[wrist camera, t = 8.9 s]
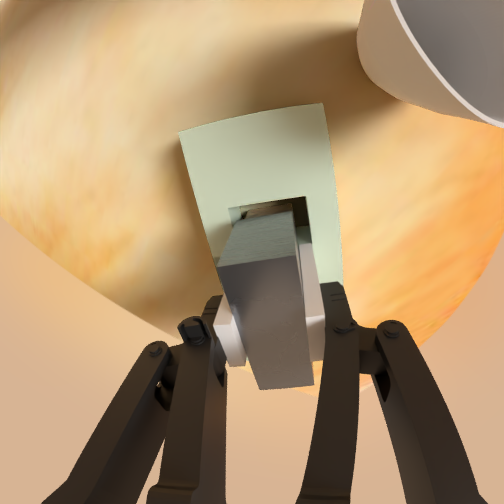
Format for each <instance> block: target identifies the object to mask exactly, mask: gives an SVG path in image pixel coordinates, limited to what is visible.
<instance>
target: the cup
mask: <svg viewBox="0 0 504 504" xmlns="http://www.w3.org/2000/svg"><path fill="white" fill-rule="evenodd" d="M357 48H358V54H359V59H360V63H361V65H362V68H363V70H364V71H365V73H366V74H367V76H368V77H369V78H370V79H371V81H372V82H373V83H375V84H376V85H377V86H378V87H380V88H381V89H383V90H384V91H386V92H387V93H389V94H390V95H392V96H393V97H395V98H397V99H399V100H401V101H404V102H407V103H410V104H413V105H416V106H420V107H423V108H426V109H429V110H431V111H434V112H437V113H441V114H445V115H450V116H456V117H461V118H465V119H470V120H474V121H478V122H482V123H486V124H490V125H494V126H497V127H501V128H504V0H365V1H364V4H363V9H362V13H361V17H360V22H359V26H358V30H357Z"/></svg>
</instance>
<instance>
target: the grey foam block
mask: <svg viewBox="0 0 504 504" xmlns="http://www.w3.org/2000/svg"><path fill="white" fill-rule="evenodd" d="M216 268H217V271H218V274H219V277H220V280H221V283H222V286H223V289H224V292H225V295H226V298H227V301H228V304H229V307H230V309H231V312H232V315H233V316H234V320H235V323H236V326H237V329H238V332H239V335H240V338H241V341H242V344H243V346H244V349H245V352H246V355H247V357H248V360H249V363H250V365H251V368H252V371H253V373H254V376H255V379H256V381H257V384H258V386H259V389H260V390H268V389H282V388H293V387H303V386H312V385H314V373H313V361H312V362H310V354H309V344H308V334H307V325H306V316H305V304H304V292H303V281H302V270H301V263H300V256H299V250H298V242H297V234H296V226H295V219H294V214H293V208H292V203H288V204H282V205H276V206H271V207H265V208H260V209H254V210H249V211H248V212H247V215H246V218H245V219H243V220H238V221H236V223H235V225H234V227H233V230H232V232H231V234H230V237H229V239H228V241H227V243H226V246H225V248H224V250H223V253H222V255H221V257H220V260H219V262H218V264H217V267H216Z"/></svg>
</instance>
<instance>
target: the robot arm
mask: <svg viewBox="0 0 504 504" xmlns="http://www.w3.org/2000/svg"><path fill="white" fill-rule="evenodd" d="M299 251H300V260H301V270H302V281H303V292H304V304H305V316H306V325H307V334H308V344H309V354H310V362H312V361H320V360H323V367H322V376H321V384H320V391H319V398H318V405H317V412H316V418H315V424H314V429H313V435H312V441H311V446H310V451H309V456H308V461H307V465H306V470H305V475H304V479H303V483H302V488H301V491H300V494H299V496H298V498H297V500H296V503H295V504H350V493H351V486H352V479H353V471H354V463H355V453H356V442H357V429H358V412H359V373H361V374H371V377H372V380H373V383H374V386H375V388H376V392H377V395H378V398H379V401H380V404H381V407H382V410H383V414H384V417H385V420H386V424H387V427H388V431H389V434H390V438H391V441H392V445H393V449H394V452H395V456H396V460H397V464H398V468H399V472H400V476H401V480H402V485H403V489H404V494H405V499H406V503H407V504H488V503H487V502H486V501H485V500H484V499H483V498H482V497H481V495H479V492H478V489H477V485H476V482H475V478H474V475H473V472H472V470H471V466H470V463H469V460H468V457H467V455H466V452H465V449H464V446H463V443H462V441H461V438H460V436H459V433H458V431H457V428H456V426H455V424H454V421H453V419H452V416H451V414H450V412H449V409H448V407H447V405H446V403H445V401H444V399H443V396H442V394H441V392H440V390H439V388H438V386H437V384H436V382H435V380H434V378H433V376H432V374H431V372H430V370H429V368H428V366H427V364H426V362H425V360H424V358H423V356H422V355H421V353H420V351H419V349H418V347H417V345H416V344H415V342H414V340H413V338H412V336H411V335H410V333H409V331H408V329H407V328H406V326H405V325H404V324H403V323H401V322H399V321H395V320H387V321H384V322H382V323H380V324H379V325H378V326H377V329H375V328H365V327H362V326H359V325H358V324H357V322H356V321H355V320H354V319H353V318H352V315H351V311H350V308H349V304H348V301H347V297H346V294H345V291H344V287H343V286H342V285H341V284H340V283H339V282H338V281H335V282H328V283H321V284H319V279H318V273H317V268H316V263H315V258H314V253H313V248H312V244H311V243H308V244H301V245H299ZM202 314H203V315H202V316H201V317H200V316H193V317H189V318H187V319H185V320H183V321H182V322H181V323H180V324H179V325H178V327H177V328H178V330H179V333H180V335H181V337H182V339H183V341H184V343H182V344H180V345H176V346H172V347H168V345H167V344H166V343H165V342H163V341H155V342H152V343H150V344H149V345H148V346H146V347H145V348H144V350H143V351H142V353H141V355H140V356H139V358H138V359H137V361H136V362H135V364H134V366H133V367H132V369H131V371H130V372H129V373H128V375H127V377H126V379H125V380H124V382H123V383H122V385H121V386H120V388H119V390H118V392H117V393H116V395H115V397H114V398H113V400H112V401H111V403H110V405H109V406H108V408H107V410H106V411H105V413H104V415H103V417H102V418H101V420H100V422H99V423H98V425H97V427H96V429H95V430H94V432H93V434H92V435H91V437H90V439H89V441H88V442H87V444H86V446H85V448H84V449H83V451H82V453H81V455H80V457H79V458H78V460H77V462H76V464H75V466H74V468H73V470H72V472H71V473H70V476H69V477H68V479H67V480H66V481H65V482H64V483H63V484H62V485H61V486H60V487H59V488H58V489H56V491H54V492H53V493H52V494H51V495H50V496H49V497H47V498H46V499H45V500H44V501H43V502H42V503H41V504H136V503H137V500H138V498H139V496H140V494H141V491H142V489H143V487H144V484H145V482H146V480H147V478H148V475H149V473H150V471H151V468H152V466H153V464H154V461H155V459H156V457H157V455H158V452H159V450H160V448H161V445H162V443H163V441H164V439H165V442H164V448H163V456H162V462H161V468H160V476H159V481H158V483H157V484H156V485H154V486H152V487H151V488H150V489H149V491H148V495H147V501H146V504H226V498H225V479H226V478H225V475H226V473H225V472H226V470H225V469H226V466H225V465H226V405H227V371H226V368H225V364H226V360H227V362H228V364H229V366H230V367H237V366H245V364H246V358H247V355H246V352H245V349H244V346H243V344H242V341H241V338H240V335H239V332H238V329H237V326H236V323H235V320H234V316H233V315H232V312H231V309H230V307H229V304H228V301H227V298H226V295H225V292H224V294H223V295H220V296H213V297H212V298H211V299H210V300H209V301H208V302H207V304H206V306H205V310H204V311H203V313H202ZM158 382H159V384H158ZM157 384H158V385H157Z"/></svg>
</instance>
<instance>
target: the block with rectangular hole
mask: <svg viewBox="0 0 504 504" xmlns="http://www.w3.org/2000/svg"><path fill="white" fill-rule="evenodd" d="M178 134H179V138H180V142H181V146H182V150H183V154H184V157H185V161H186V165H187V169H188V173H189V176H190V180H191V184H192V187H193V191H194V195H195V198H196V202H197V206H198V209H199V213H200V216H201V220H202V223H203V226H204V230H205V233H206V237H207V240H208V243H209V247H210V250H211V253H212V257H213V260H214V263H215V266H216V267H217V264H218V262H219V260H220V257H221V255H222V253H223V250H224V248H225V246H226V243H227V241H228V239H229V237H230V234H231V232H232V230H233V227H234V225H235V223H236V221H238V220H242V215H241V211H240V207H239V206H243V205H249V204H255V203H261V202H268V201H274V200H281V199H287V198H294V197H301V196H305V201H306V208H307V215H308V222H309V225H307V226H300V227H296V234H297V242H298V250H299V245H301V244H308V243H311V244H312V248H313V253H314V258H315V263H316V268H317V273H318V279H319V284H321V283H328V282H335V281H338V282H339V283H340V284H341V285H342V286H343V264H342V246H341V232H340V220H339V209H338V199H337V190H336V182H335V174H334V166H333V159H332V152H331V146H330V139H329V133H328V128H327V122H326V117H325V111H324V106H323V103H315V104H306V105H299V106H292V107H285V108H279V109H273V110H267V111H262V112H257V113H252V114H247V115H242V116H237V117H233V118H229V119H224V120H220V121H216V122H212V123H208V124H205V125H201V126H197V127H194V128H190V129H187V130H184V131H180V132H178ZM299 256H300V251H299ZM300 263H301V260H300ZM216 270H217V268H216ZM217 273H218V271H217ZM218 276H219V274H218ZM219 279H220V277H219ZM220 282H221V280H220ZM221 286H222V283H221ZM222 289H223V286H222ZM223 292H224V289H223ZM246 360H247V361H249V360H248V357H247V358H246Z"/></svg>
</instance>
